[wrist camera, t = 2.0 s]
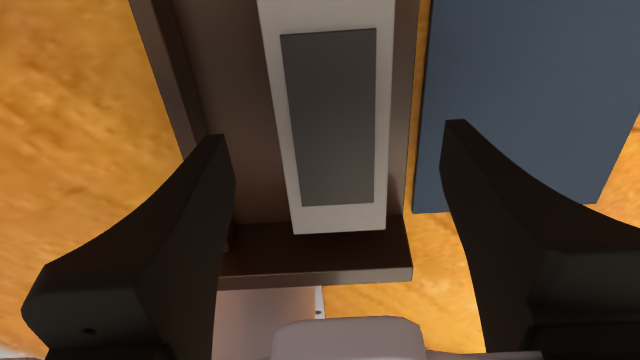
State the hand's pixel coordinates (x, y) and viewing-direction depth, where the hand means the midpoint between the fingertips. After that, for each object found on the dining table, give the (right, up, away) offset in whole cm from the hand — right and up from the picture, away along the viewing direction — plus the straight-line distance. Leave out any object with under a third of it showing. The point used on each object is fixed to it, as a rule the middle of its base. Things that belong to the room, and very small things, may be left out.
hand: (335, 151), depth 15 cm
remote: (0, +3, +4) cm, 5 cm away
